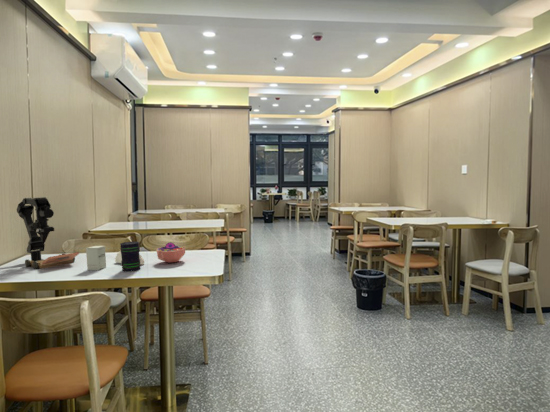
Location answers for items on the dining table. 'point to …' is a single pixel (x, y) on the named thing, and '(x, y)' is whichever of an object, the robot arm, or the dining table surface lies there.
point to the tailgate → (60, 258)
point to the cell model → (170, 253)
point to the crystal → (119, 258)
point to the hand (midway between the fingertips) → (43, 242)
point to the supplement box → (96, 257)
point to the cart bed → (39, 264)
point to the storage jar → (130, 256)
